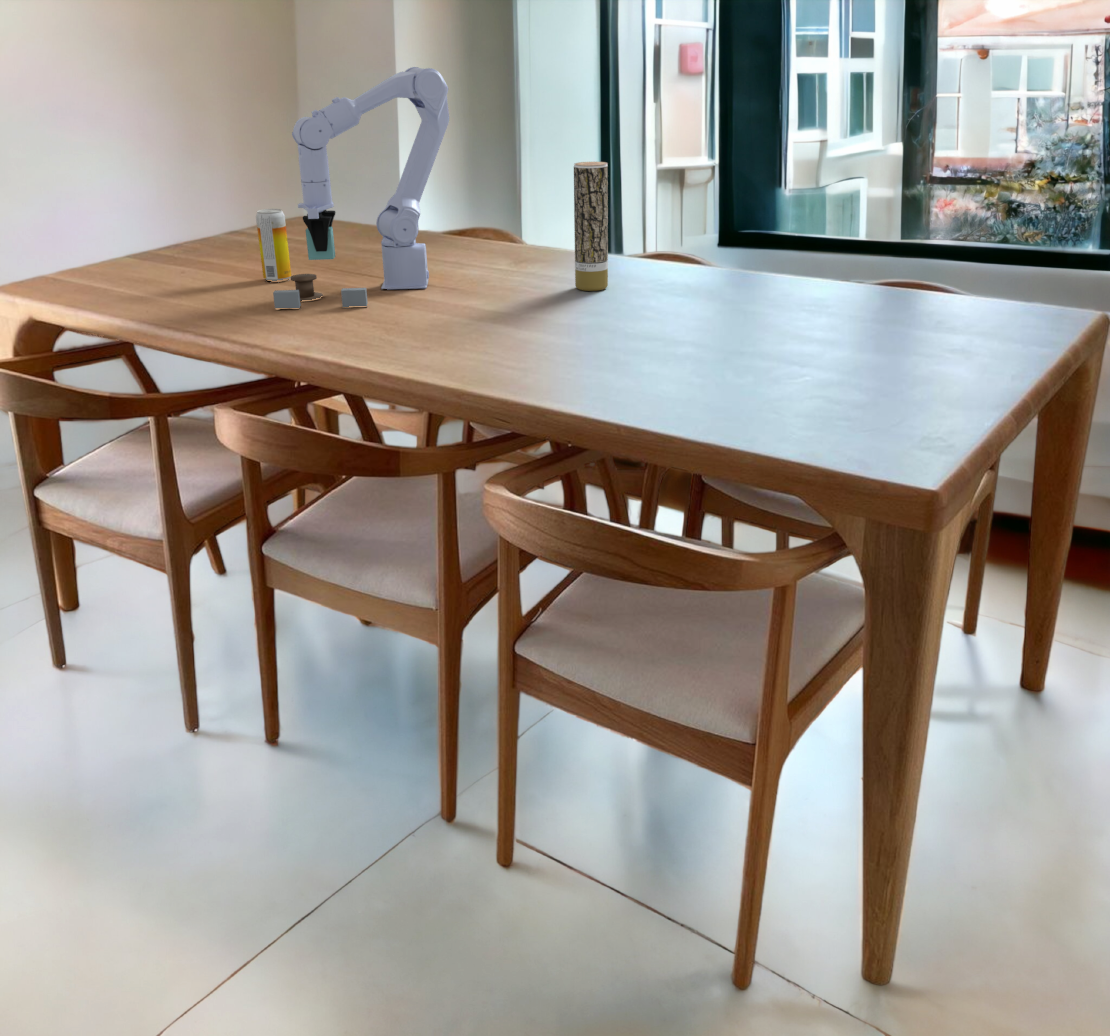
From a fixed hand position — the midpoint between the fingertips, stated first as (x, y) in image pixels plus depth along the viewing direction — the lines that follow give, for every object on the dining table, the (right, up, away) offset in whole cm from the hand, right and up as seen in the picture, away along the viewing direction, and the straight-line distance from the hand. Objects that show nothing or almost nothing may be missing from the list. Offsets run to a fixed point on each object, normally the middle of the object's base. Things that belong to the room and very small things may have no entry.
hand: (322, 249), depth 233 cm
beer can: (-14, -3, +18) cm, 23 cm away
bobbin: (-4, -10, +1) cm, 10 cm away
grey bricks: (+1, -13, -7) cm, 15 cm away
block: (0, -2, +1) cm, 2 cm away
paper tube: (+55, -7, +4) cm, 56 cm away
